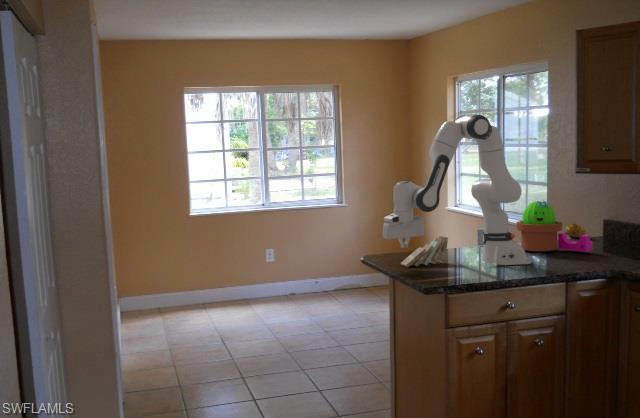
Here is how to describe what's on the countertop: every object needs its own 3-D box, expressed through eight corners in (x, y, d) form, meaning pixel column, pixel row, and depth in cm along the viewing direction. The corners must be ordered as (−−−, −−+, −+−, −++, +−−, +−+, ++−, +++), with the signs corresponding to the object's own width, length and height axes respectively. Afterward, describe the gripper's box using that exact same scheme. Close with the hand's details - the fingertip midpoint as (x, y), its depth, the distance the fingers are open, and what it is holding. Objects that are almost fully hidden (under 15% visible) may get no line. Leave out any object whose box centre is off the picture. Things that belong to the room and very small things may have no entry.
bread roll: (561, 234, 382) (561, 221, 382) (576, 234, 384) (576, 220, 383) (572, 238, 370) (572, 223, 369) (588, 237, 371) (588, 222, 370)
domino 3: (438, 261, 312) (442, 236, 311) (444, 263, 307) (448, 237, 307) (436, 261, 311) (439, 236, 311) (441, 263, 307) (445, 237, 306)
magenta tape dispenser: (592, 250, 330) (592, 235, 329) (585, 251, 326) (585, 236, 325) (565, 246, 341) (565, 232, 341) (558, 248, 338) (558, 233, 337)
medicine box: (493, 244, 356) (493, 228, 355) (492, 245, 352) (492, 229, 351) (478, 244, 359) (478, 228, 358) (477, 245, 355) (477, 229, 354)
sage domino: (424, 263, 303) (438, 241, 305) (418, 261, 308) (432, 240, 309) (426, 265, 304) (440, 243, 305) (421, 263, 308) (434, 242, 310)
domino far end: (402, 265, 304) (420, 249, 308) (407, 267, 300) (426, 251, 303) (400, 263, 304) (419, 247, 307) (405, 264, 299) (424, 248, 303)
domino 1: (411, 264, 306) (428, 246, 309) (417, 266, 302) (434, 247, 304) (409, 262, 306) (426, 243, 308) (415, 264, 301) (432, 245, 304)
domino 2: (429, 262, 310) (438, 238, 311) (435, 264, 305) (444, 240, 306) (427, 261, 309) (436, 237, 310) (432, 263, 305) (442, 238, 306)
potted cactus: (516, 245, 351) (516, 198, 348) (560, 245, 345) (560, 197, 342) (516, 252, 330) (516, 202, 327) (563, 252, 324) (563, 201, 321)
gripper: (419, 214, 307) (420, 244, 308) (380, 218, 299) (381, 248, 300) (427, 215, 301) (427, 245, 302) (387, 219, 293) (388, 250, 295)
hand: (404, 247), depth 301 cm, fingers closed
